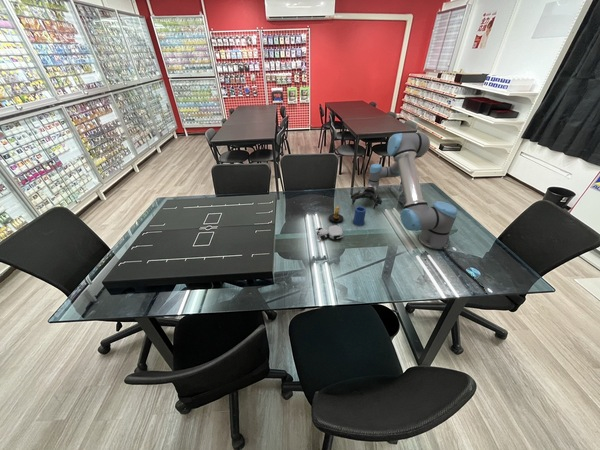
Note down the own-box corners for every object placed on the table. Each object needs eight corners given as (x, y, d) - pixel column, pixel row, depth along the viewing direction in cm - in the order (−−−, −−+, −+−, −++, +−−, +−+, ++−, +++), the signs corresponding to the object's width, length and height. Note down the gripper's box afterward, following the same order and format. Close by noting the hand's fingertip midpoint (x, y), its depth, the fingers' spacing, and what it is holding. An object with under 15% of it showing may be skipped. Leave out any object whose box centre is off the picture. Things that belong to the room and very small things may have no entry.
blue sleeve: (364, 225, 152) (366, 211, 147) (353, 225, 153) (355, 211, 147) (363, 220, 158) (365, 206, 152) (353, 219, 158) (355, 206, 153)
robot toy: (318, 244, 139) (344, 241, 139) (317, 238, 136) (344, 235, 136) (315, 231, 149) (340, 229, 149) (315, 225, 146) (340, 222, 147)
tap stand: (343, 224, 154) (344, 210, 149) (328, 223, 155) (329, 209, 150) (342, 216, 162) (344, 203, 156) (329, 215, 162) (329, 202, 157)
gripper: (387, 199, 171) (382, 214, 155) (351, 192, 180) (343, 206, 164) (389, 189, 167) (384, 203, 151) (353, 183, 176) (344, 196, 160)
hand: (363, 205), depth 157 cm, fingers open, 13 cm apart
